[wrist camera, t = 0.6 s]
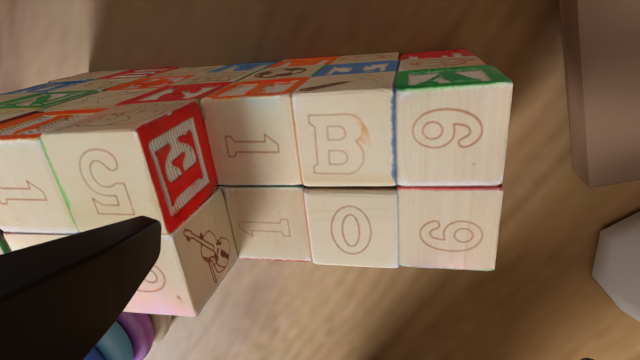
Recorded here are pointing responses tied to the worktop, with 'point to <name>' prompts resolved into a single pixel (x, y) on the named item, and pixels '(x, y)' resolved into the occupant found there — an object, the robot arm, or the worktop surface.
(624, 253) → the flask
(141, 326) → the stacking toy
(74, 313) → the robot arm
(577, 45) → the plinth
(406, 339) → the worktop surface
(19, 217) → the stack of blocks
